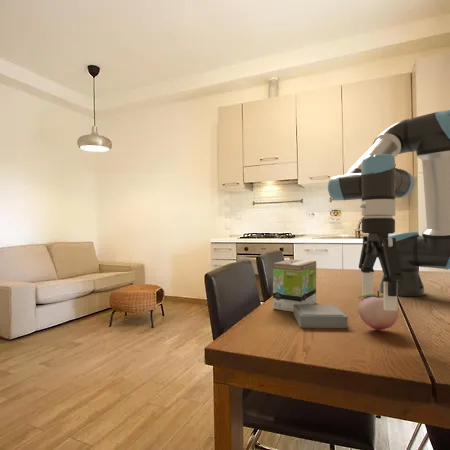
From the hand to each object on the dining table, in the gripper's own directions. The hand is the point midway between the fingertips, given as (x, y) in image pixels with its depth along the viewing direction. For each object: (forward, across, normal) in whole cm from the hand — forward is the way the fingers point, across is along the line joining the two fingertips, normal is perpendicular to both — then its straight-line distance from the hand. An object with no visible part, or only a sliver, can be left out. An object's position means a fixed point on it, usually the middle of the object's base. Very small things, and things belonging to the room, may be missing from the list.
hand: (378, 303), depth 79 cm
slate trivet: (+7, -8, -13) cm, 17 cm away
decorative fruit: (+7, 0, 0) cm, 7 cm away
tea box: (+7, -24, -17) cm, 30 cm away
